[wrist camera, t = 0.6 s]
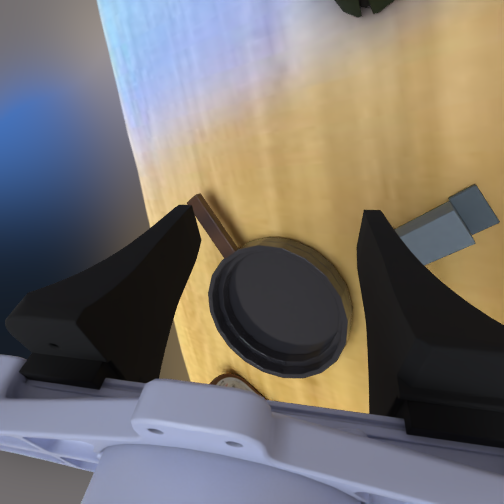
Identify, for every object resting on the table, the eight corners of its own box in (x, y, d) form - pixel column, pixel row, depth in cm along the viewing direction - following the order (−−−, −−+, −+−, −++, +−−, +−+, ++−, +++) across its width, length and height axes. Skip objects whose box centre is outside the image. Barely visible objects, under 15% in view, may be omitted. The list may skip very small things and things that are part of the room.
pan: (382, 336, 35) (380, 355, 32) (269, 374, 45) (259, 391, 42) (297, 208, 35) (286, 216, 32) (200, 274, 44) (185, 284, 41)
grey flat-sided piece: (474, 183, 27) (482, 191, 24) (498, 220, 27) (509, 233, 24) (353, 247, 33) (346, 260, 30) (372, 277, 34) (368, 292, 30)
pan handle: (239, 250, 37) (235, 253, 36) (229, 257, 38) (225, 259, 37) (200, 192, 36) (195, 194, 36) (191, 201, 37) (186, 203, 37)
